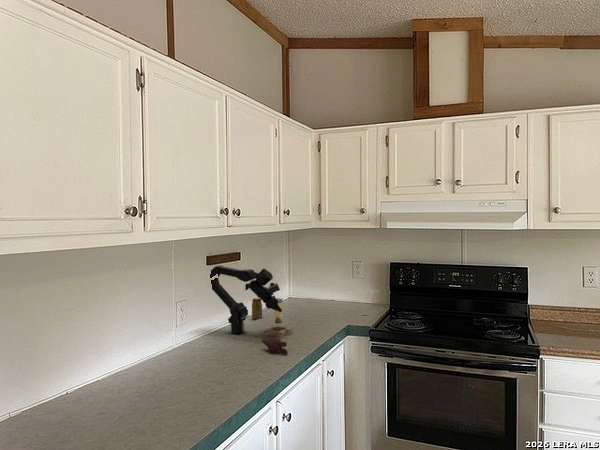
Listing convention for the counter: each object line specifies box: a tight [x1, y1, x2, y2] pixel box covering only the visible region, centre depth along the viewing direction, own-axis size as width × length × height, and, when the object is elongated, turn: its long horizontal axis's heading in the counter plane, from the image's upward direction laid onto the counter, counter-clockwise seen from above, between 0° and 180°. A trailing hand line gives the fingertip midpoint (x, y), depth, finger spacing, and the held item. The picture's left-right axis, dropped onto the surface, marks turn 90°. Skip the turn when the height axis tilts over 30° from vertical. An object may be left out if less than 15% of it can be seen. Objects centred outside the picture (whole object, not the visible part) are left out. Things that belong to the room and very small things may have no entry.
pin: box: [274, 298, 283, 324], centre depth 219 cm, size 4×4×12 cm
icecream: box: [260, 336, 289, 355], centre depth 191 cm, size 7×7×15 cm
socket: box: [264, 325, 293, 338], centre depth 219 cm, size 10×10×3 cm
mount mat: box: [261, 325, 275, 331], centre depth 228 cm, size 9×9×1 cm
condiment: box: [248, 297, 263, 321], centre depth 252 cm, size 7×8×12 cm
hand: (281, 310), depth 219 cm, fingers closed on pin, 4 cm apart
